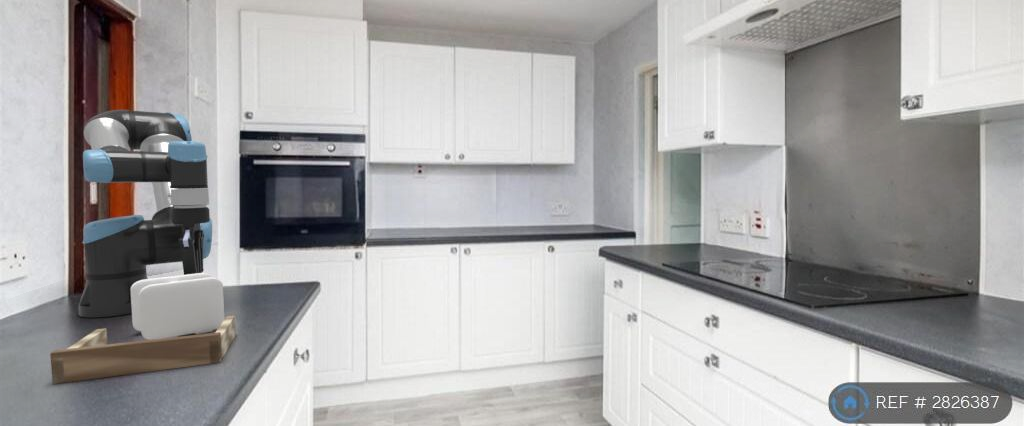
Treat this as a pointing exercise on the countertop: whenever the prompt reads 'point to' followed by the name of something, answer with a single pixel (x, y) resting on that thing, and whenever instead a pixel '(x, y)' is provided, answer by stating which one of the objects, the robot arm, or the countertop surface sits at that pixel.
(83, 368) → the wooden tray
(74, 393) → the countertop surface
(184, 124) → the robot arm
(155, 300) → the cable organizer
